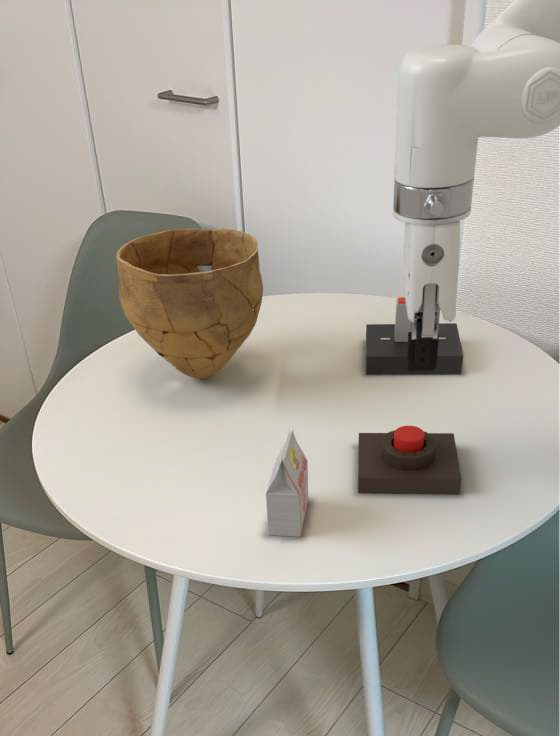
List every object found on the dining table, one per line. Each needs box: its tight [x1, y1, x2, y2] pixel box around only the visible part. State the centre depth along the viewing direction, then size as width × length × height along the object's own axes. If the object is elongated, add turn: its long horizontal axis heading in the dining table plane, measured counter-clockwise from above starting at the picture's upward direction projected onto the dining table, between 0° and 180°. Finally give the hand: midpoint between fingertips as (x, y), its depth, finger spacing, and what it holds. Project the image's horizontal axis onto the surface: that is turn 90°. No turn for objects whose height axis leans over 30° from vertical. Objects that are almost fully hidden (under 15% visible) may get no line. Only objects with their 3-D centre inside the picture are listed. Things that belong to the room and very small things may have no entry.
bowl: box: [115, 228, 264, 380], centre depth 109 cm, size 21×20×20 cm
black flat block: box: [365, 322, 464, 376], centre depth 115 cm, size 14×11×3 cm
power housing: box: [357, 429, 462, 495], centre depth 93 cm, size 12×10×4 cm
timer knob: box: [394, 296, 412, 342], centre depth 113 cm, size 6×2×6 cm, turn 84°
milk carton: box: [265, 429, 309, 538], centre depth 85 cm, size 4×7×10 cm, turn 169°
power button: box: [394, 425, 425, 452], centre depth 91 cm, size 4×4×2 cm
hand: (421, 367), depth 85 cm, fingers closed
